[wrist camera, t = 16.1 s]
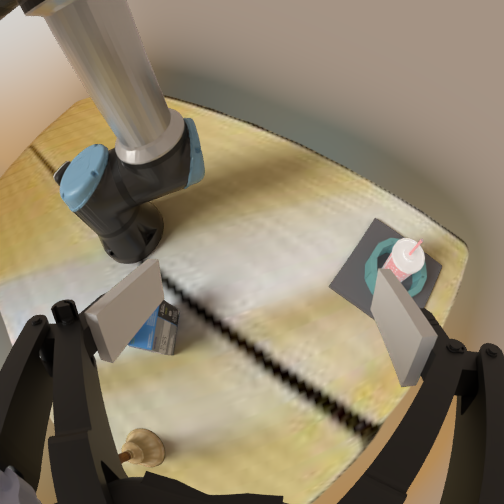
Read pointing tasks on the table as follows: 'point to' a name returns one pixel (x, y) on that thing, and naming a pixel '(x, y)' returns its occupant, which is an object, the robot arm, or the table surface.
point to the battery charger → (61, 172)
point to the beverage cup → (405, 258)
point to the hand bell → (142, 448)
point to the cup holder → (373, 257)
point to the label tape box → (158, 331)
